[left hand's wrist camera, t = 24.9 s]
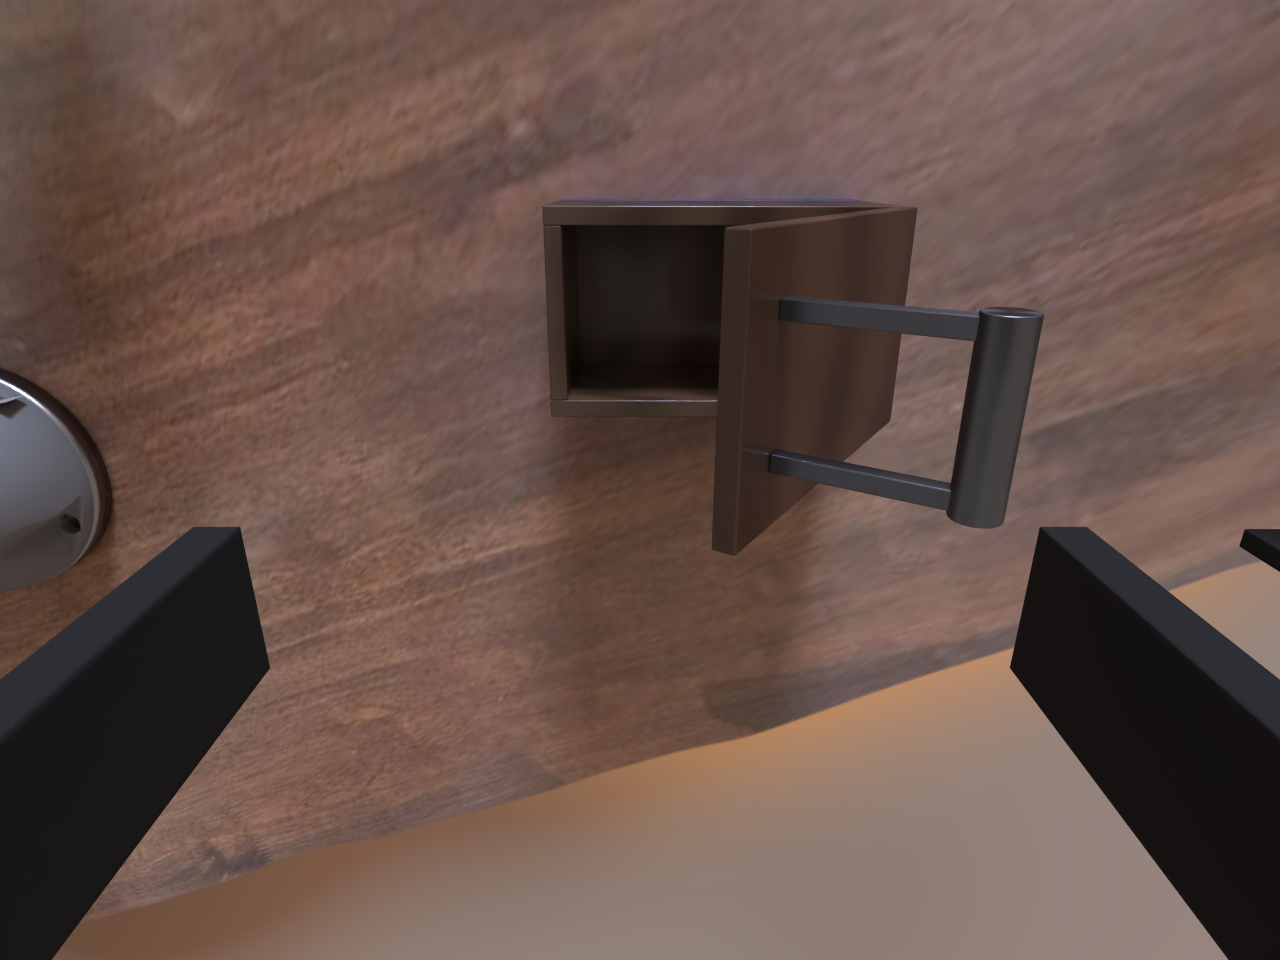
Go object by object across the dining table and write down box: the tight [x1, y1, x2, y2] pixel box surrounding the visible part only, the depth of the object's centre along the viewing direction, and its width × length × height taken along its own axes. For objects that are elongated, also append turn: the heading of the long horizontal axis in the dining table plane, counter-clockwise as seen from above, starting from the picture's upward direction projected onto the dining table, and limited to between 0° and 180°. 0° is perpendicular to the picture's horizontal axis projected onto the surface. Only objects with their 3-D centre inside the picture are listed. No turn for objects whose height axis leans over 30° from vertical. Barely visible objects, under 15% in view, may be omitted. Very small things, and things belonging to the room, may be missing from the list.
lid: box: [712, 207, 1044, 556], centre depth 29 cm, size 18×10×8 cm
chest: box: [543, 199, 904, 417], centre depth 42 cm, size 17×10×9 cm, turn 90°
